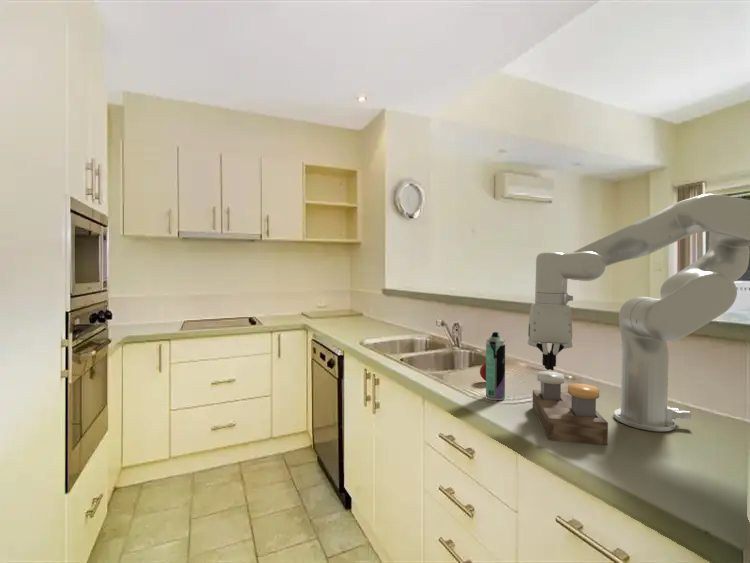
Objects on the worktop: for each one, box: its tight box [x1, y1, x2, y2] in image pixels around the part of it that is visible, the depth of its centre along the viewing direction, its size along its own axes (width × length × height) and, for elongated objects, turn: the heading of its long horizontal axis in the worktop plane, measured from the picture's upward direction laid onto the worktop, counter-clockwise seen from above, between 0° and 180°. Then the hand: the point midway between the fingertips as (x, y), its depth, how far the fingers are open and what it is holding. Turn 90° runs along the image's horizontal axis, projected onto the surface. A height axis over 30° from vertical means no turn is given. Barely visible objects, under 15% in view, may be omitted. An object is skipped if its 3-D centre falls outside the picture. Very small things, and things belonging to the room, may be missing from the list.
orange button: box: [567, 382, 600, 418], centre depth 86 cm, size 6×6×7 cm
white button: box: [536, 370, 565, 401], centre depth 97 cm, size 6×6×7 cm
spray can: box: [485, 331, 506, 401], centre depth 111 cm, size 6×6×20 cm
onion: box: [479, 362, 486, 382], centre depth 126 cm, size 6×6×8 cm
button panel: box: [532, 389, 609, 446], centre depth 92 cm, size 12×20×5 cm, turn 166°
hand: (548, 368), depth 97 cm, fingers closed
